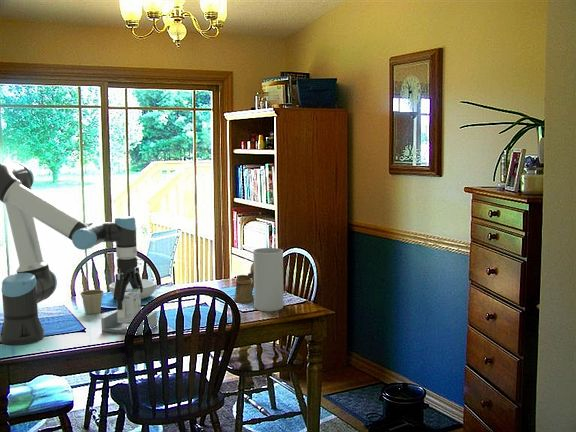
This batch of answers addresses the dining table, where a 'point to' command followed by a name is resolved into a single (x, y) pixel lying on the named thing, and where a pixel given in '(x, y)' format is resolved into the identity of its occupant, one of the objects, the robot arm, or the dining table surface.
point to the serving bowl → (147, 285)
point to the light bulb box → (131, 305)
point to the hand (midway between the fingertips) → (129, 313)
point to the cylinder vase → (268, 279)
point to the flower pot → (92, 301)
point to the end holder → (123, 324)
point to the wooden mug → (245, 287)
